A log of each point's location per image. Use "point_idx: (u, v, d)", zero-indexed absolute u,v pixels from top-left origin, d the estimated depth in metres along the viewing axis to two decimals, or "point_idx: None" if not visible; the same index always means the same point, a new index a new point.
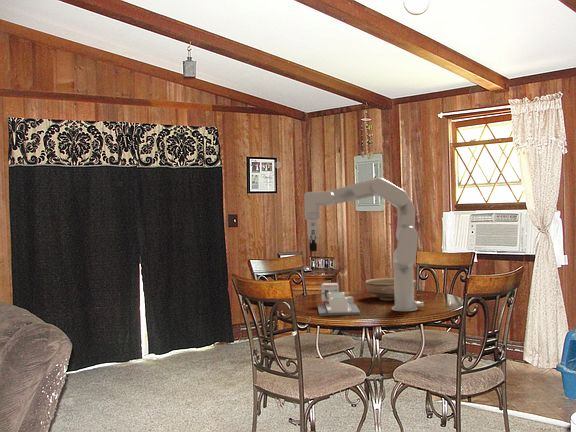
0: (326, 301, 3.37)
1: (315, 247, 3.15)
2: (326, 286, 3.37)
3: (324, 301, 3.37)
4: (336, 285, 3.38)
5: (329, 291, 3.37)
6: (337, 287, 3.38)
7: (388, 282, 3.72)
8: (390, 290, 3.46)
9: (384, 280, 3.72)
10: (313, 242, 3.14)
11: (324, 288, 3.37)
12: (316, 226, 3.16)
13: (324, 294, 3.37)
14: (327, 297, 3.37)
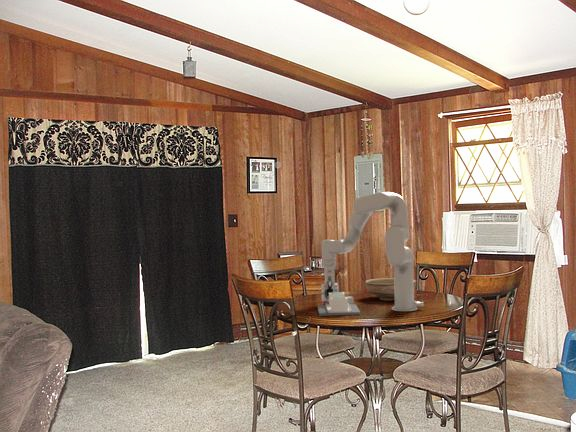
0: (326, 301, 3.37)
1: None
2: (326, 286, 3.37)
3: (324, 301, 3.37)
4: (336, 285, 3.38)
5: None
6: (337, 287, 3.38)
7: (388, 282, 3.72)
8: (390, 290, 3.46)
9: (384, 280, 3.72)
10: (330, 288, 3.34)
11: (324, 288, 3.37)
12: (332, 272, 3.35)
13: (324, 294, 3.37)
14: (327, 297, 3.37)
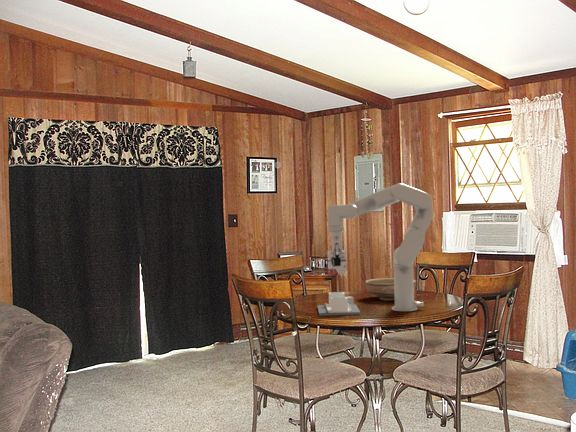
0: (333, 269, 3.19)
1: (339, 262, 3.18)
2: (332, 253, 3.19)
3: (331, 269, 3.19)
4: (343, 252, 3.20)
5: None
6: (344, 254, 3.20)
7: (388, 282, 3.72)
8: (390, 290, 3.46)
9: (384, 280, 3.72)
10: (337, 257, 3.17)
11: (330, 255, 3.19)
12: (340, 239, 3.17)
13: (330, 261, 3.19)
14: None
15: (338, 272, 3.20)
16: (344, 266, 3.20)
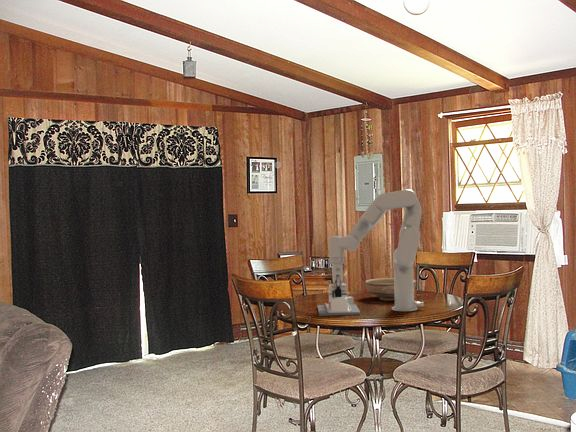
0: None
1: (340, 293, 3.18)
2: (333, 286, 3.19)
3: None
4: (344, 285, 3.20)
5: None
6: (345, 287, 3.20)
7: (388, 282, 3.72)
8: (390, 290, 3.46)
9: (384, 280, 3.72)
10: (338, 288, 3.17)
11: (331, 288, 3.19)
12: (341, 271, 3.17)
13: (331, 295, 3.19)
14: None
15: None
16: None
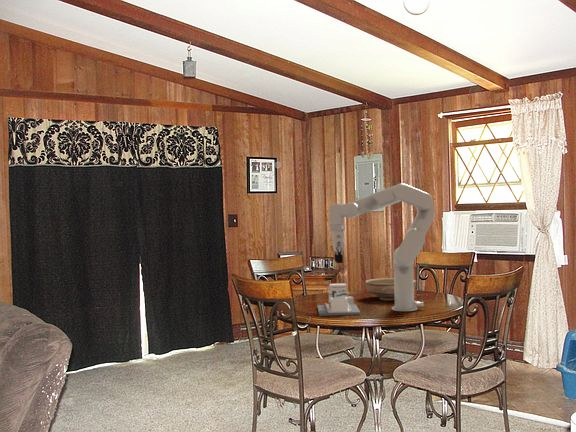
0: None
1: (341, 259, 3.17)
2: (334, 287, 3.19)
3: None
4: (344, 286, 3.20)
5: (337, 292, 3.19)
6: (345, 288, 3.20)
7: (388, 282, 3.72)
8: (390, 290, 3.46)
9: (384, 280, 3.72)
10: (339, 254, 3.16)
11: (331, 289, 3.19)
12: (342, 238, 3.18)
13: (331, 295, 3.19)
14: None
15: None
16: None
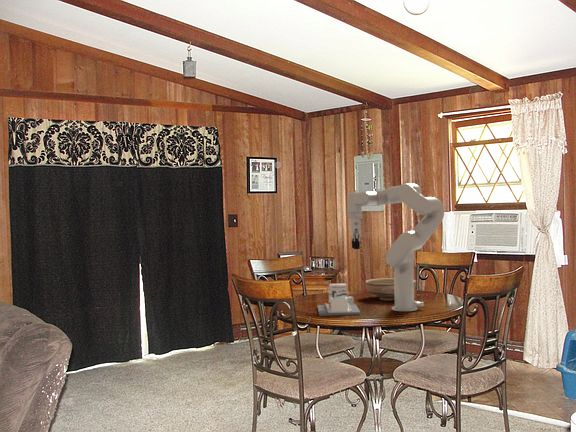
0: None
1: (358, 245, 3.30)
2: (334, 287, 3.19)
3: None
4: (344, 286, 3.20)
5: (337, 292, 3.19)
6: (345, 288, 3.20)
7: (388, 282, 3.72)
8: (390, 290, 3.46)
9: (384, 280, 3.72)
10: (356, 240, 3.29)
11: (331, 289, 3.19)
12: (359, 225, 3.30)
13: (331, 295, 3.19)
14: None
15: None
16: None
